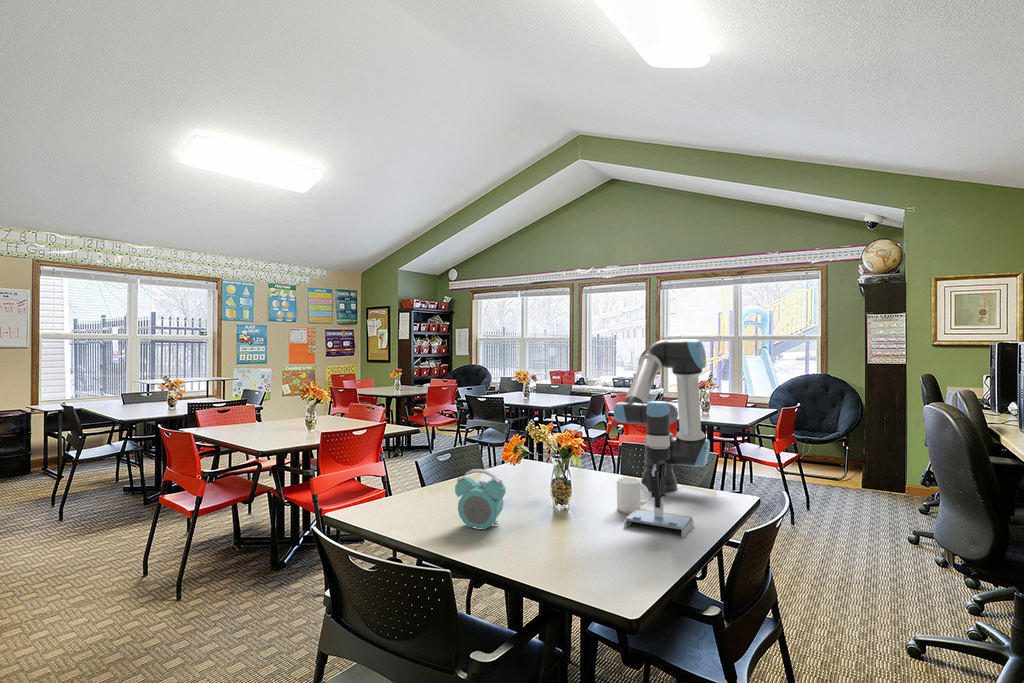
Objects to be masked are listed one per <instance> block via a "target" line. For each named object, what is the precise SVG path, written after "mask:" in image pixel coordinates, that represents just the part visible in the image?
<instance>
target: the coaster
mask: <svg viewBox="0 0 1024 683" xmlns="http://www.w3.org/2000/svg"><path fill="white" fill-rule="evenodd" d="M640 509H643V510H648V509H647V508H646V507H644V506H642V505H641V506H640ZM616 510H617V512H618V513H621V514H624V515H627V516H629V515H630V514H631V513H632V512H623V511H620V510H619V509H618V508H617V507H616Z"/></svg>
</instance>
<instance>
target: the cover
mask: <svg viewBox="0 0 1024 683" xmlns="http://www.w3.org/2000/svg"><path fill="white" fill-rule="evenodd" d="M625 519H626V520H627V521H633V522H634V523H639V524H645V525H651V526H657V527H664V528H668V529H676V530H684V528H685V527H686V526H687V525H688V524H689V522H690V521H691V520H693V517H692V516H687V515H681V514H674V513H667V512H663V517H655V516H654V510H649V509H647V510H643V509H636V510H635V511H633V512H632V513H631V514H630V515H627V516H626V517H625ZM633 522H632V523H633Z"/></svg>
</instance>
